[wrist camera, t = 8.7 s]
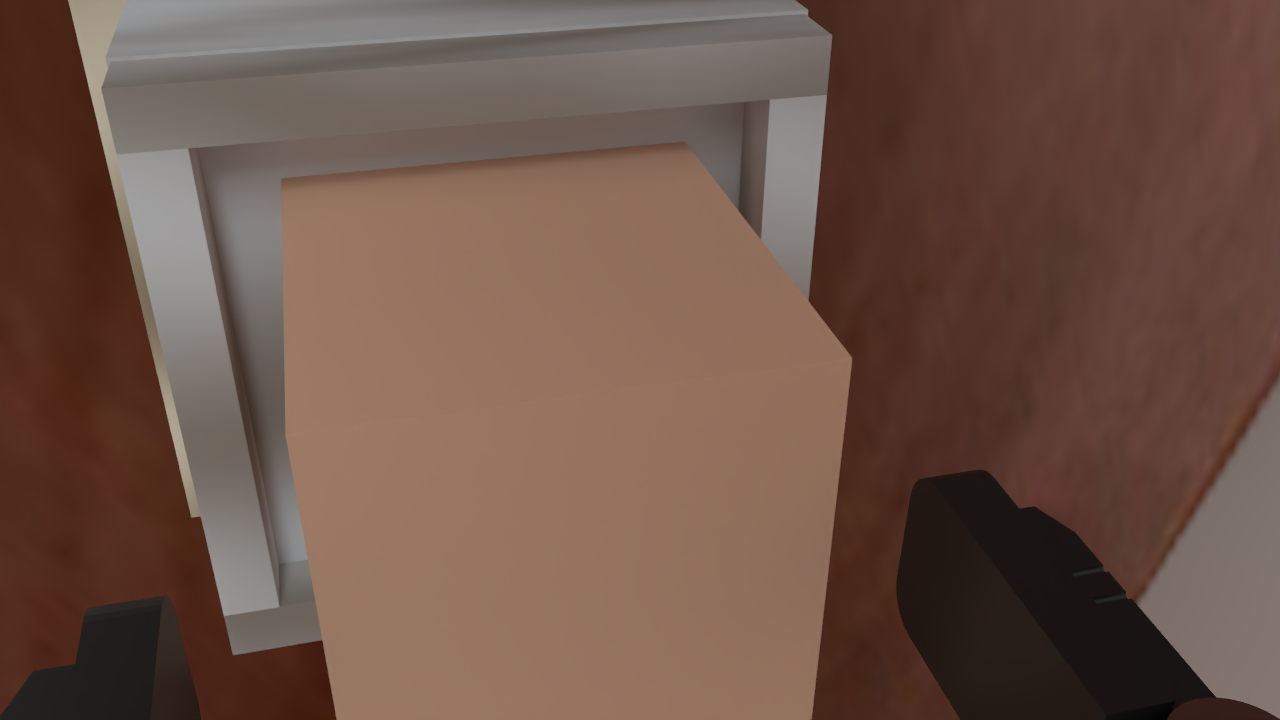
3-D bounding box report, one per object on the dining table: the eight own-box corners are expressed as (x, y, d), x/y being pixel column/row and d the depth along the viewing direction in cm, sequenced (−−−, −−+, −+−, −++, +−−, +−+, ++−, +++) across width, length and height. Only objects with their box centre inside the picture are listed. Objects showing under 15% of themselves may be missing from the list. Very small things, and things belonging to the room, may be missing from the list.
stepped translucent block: (82, -142, 20) (-26, 1, 13) (707, -164, 23) (916, -53, 15) (201, 403, 26) (174, 716, 19) (691, 340, 29) (837, 597, 21)
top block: (280, 178, 16) (285, 435, 11) (684, 141, 17) (851, 358, 12) (334, 509, 19) (356, 831, 14) (677, 458, 20) (809, 736, 15)
